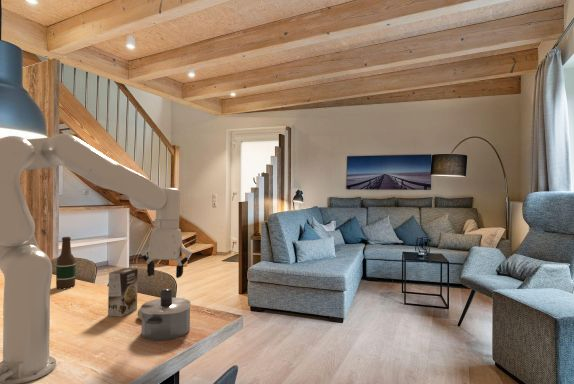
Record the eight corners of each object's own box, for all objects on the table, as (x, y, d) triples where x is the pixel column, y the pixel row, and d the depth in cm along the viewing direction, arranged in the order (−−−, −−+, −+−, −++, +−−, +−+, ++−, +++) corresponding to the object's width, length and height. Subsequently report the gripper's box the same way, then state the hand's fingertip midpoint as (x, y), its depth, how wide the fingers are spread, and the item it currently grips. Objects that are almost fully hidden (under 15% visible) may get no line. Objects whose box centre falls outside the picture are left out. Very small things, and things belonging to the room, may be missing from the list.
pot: (176, 344, 104) (176, 318, 104) (128, 342, 106) (129, 316, 106) (198, 321, 124) (198, 298, 124) (157, 319, 125) (158, 297, 125)
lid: (180, 319, 106) (180, 297, 106) (131, 317, 107) (132, 296, 107) (196, 303, 122) (196, 284, 122) (153, 301, 123) (154, 282, 123)
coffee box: (122, 317, 127) (123, 273, 127) (107, 315, 128) (107, 272, 128) (137, 309, 135) (138, 268, 135) (123, 307, 137) (124, 267, 137)
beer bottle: (57, 285, 166) (58, 236, 166) (76, 284, 170) (76, 235, 170) (54, 290, 159) (55, 238, 159) (74, 288, 163) (74, 237, 163)
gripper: (136, 224, 112) (134, 277, 111) (188, 226, 110) (185, 280, 110) (147, 223, 119) (145, 272, 119) (196, 225, 118) (194, 275, 117)
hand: (164, 276), depth 114 cm, fingers open, 9 cm apart
